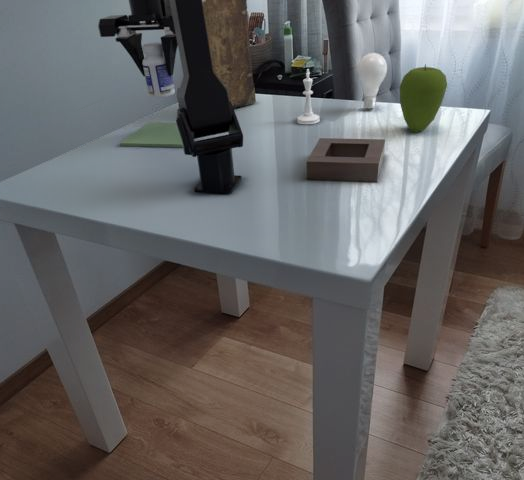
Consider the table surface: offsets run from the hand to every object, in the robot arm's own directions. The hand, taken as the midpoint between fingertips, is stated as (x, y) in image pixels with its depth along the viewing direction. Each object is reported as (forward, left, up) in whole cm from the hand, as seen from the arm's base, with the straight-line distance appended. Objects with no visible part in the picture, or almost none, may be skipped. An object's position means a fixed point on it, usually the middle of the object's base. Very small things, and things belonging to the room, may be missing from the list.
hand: (158, 75), depth 100 cm
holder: (-15, -40, -12) cm, 44 cm away
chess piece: (+11, -28, -12) cm, 32 cm away
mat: (0, +1, -12) cm, 12 cm away
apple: (+6, -51, -12) cm, 53 cm away
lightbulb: (+20, -40, -12) cm, 46 cm away
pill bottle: (0, 0, -4) cm, 4 cm away
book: (+20, -5, -12) cm, 24 cm away
